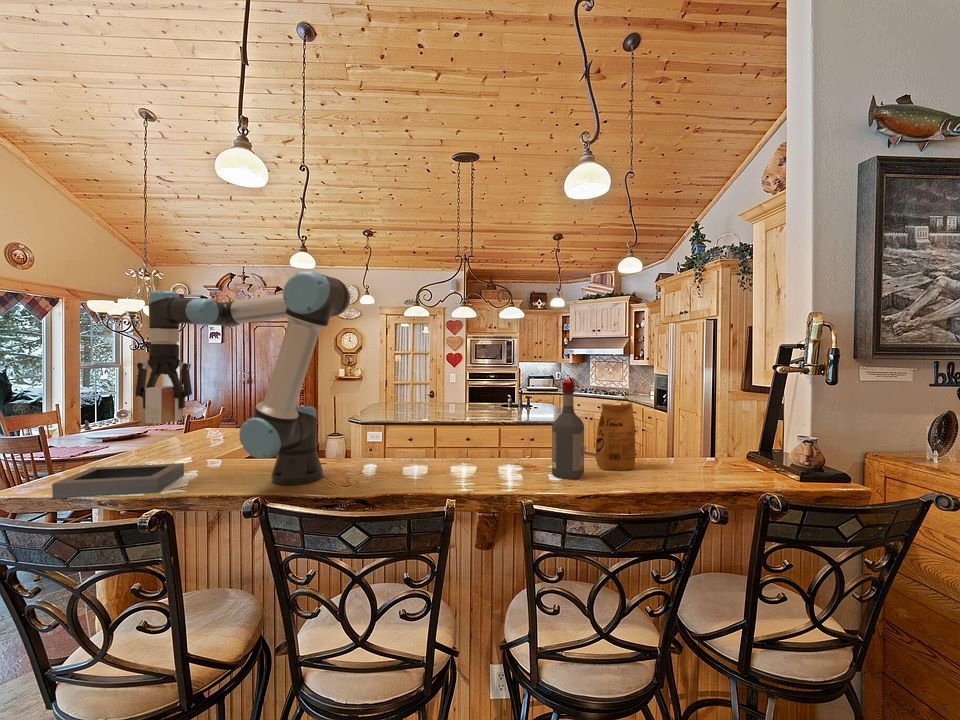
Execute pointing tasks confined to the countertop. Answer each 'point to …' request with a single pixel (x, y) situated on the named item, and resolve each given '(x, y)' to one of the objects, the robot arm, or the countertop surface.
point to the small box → (160, 404)
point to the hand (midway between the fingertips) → (164, 419)
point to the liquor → (568, 440)
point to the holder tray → (118, 480)
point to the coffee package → (616, 438)
